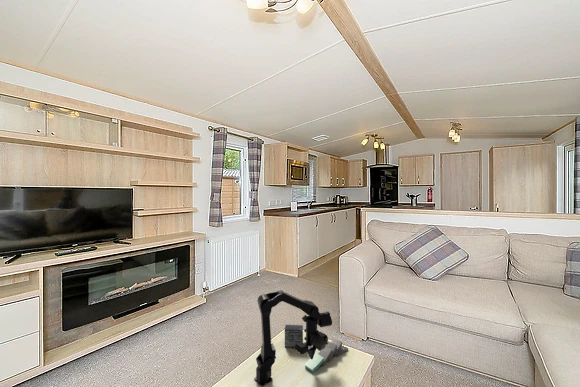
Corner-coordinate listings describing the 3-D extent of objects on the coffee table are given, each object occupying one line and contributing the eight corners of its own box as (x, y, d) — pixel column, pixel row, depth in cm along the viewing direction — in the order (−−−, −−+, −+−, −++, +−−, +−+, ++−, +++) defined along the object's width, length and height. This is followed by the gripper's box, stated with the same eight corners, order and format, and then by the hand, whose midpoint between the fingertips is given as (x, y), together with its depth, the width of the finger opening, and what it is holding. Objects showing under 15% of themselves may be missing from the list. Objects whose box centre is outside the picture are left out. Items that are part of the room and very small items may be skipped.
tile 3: (328, 358, 136) (336, 344, 142) (320, 354, 140) (328, 341, 146) (329, 361, 137) (337, 347, 143) (321, 357, 140) (329, 343, 147)
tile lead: (312, 370, 128) (323, 357, 134) (304, 364, 132) (315, 352, 138) (313, 373, 128) (324, 360, 134) (305, 367, 132) (316, 355, 138)
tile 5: (338, 354, 141) (348, 347, 147) (330, 349, 145) (340, 343, 151) (338, 358, 141) (348, 351, 147) (330, 353, 145) (340, 347, 151)
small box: (303, 342, 155) (303, 324, 155) (302, 348, 148) (302, 330, 148) (285, 341, 156) (285, 323, 156) (284, 347, 149) (284, 329, 149)
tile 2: (323, 363, 133) (332, 348, 139) (314, 358, 136) (323, 344, 142) (324, 365, 133) (332, 351, 139) (315, 361, 137) (324, 347, 143)
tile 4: (334, 353, 140) (341, 341, 147) (325, 349, 143) (333, 338, 150) (335, 356, 140) (342, 344, 147) (326, 352, 144) (333, 341, 151)
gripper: (309, 342, 119) (309, 375, 119) (335, 328, 131) (335, 359, 131) (293, 332, 127) (293, 363, 127) (319, 320, 140) (319, 349, 140)
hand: (311, 359), depth 131 cm, fingers closed
